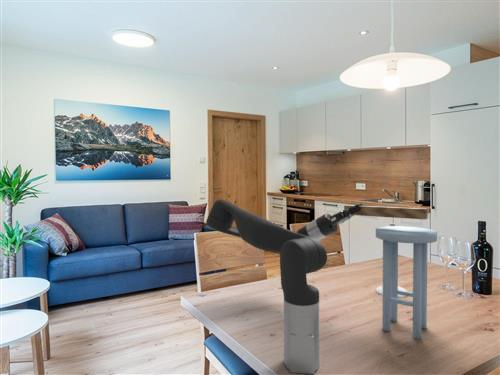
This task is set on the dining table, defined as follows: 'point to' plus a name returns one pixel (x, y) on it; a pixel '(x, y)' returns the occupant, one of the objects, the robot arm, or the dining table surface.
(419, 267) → the stool
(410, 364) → the dining table surface
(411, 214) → the thin wooden plank
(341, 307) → the dining table surface
